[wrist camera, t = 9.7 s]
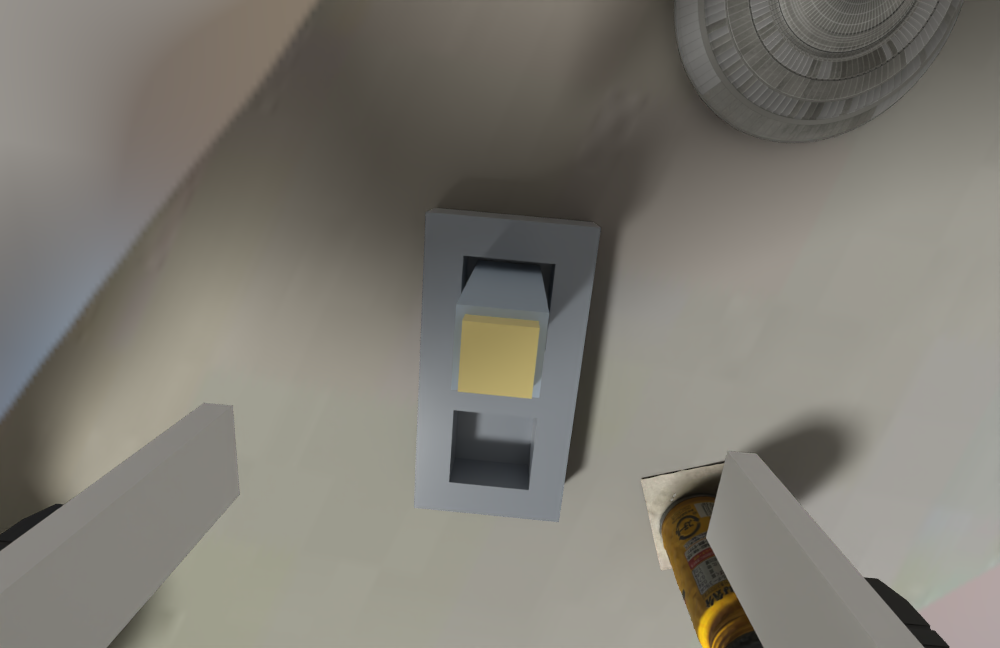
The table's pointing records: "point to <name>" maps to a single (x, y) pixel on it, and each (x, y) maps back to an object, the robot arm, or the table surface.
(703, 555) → the condiment
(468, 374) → the plug
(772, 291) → the table surface
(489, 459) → the panel
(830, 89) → the flying saucer
